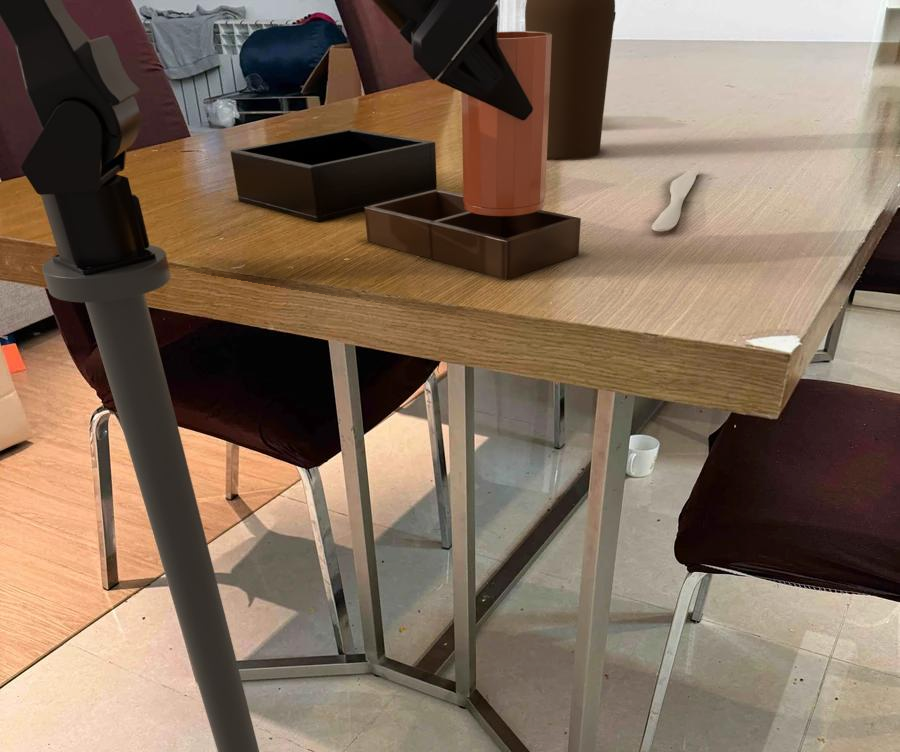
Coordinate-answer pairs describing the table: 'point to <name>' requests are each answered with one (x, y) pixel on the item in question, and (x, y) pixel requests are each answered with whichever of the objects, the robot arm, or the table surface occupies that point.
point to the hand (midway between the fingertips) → (522, 108)
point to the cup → (509, 136)
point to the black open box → (333, 172)
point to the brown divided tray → (472, 234)
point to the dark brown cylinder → (575, 71)
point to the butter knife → (675, 201)
